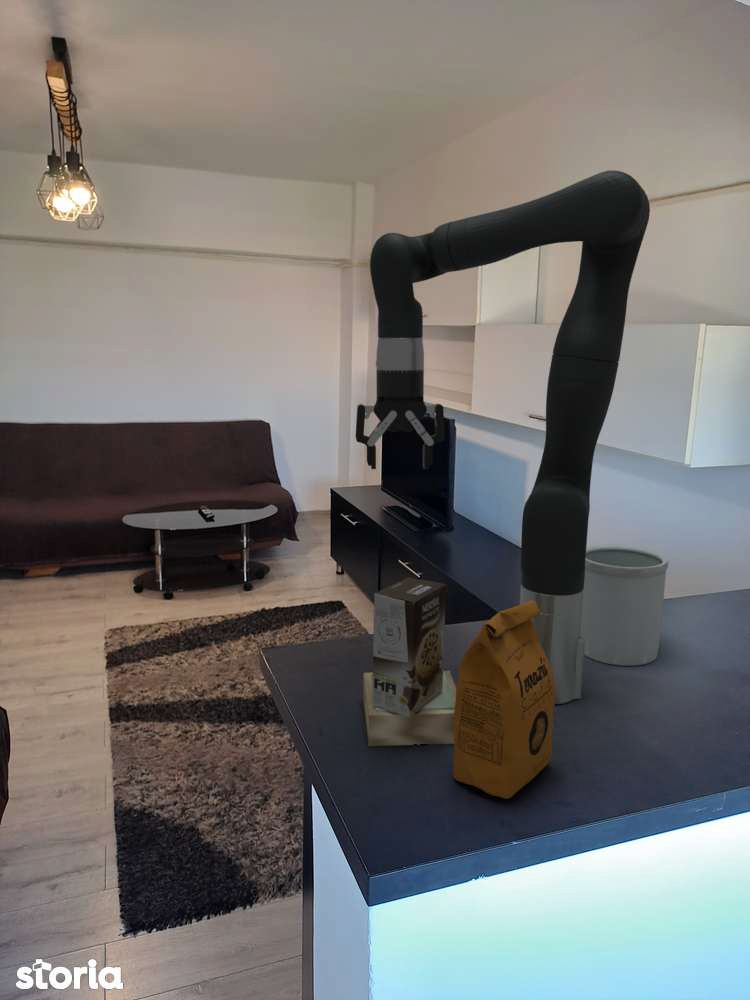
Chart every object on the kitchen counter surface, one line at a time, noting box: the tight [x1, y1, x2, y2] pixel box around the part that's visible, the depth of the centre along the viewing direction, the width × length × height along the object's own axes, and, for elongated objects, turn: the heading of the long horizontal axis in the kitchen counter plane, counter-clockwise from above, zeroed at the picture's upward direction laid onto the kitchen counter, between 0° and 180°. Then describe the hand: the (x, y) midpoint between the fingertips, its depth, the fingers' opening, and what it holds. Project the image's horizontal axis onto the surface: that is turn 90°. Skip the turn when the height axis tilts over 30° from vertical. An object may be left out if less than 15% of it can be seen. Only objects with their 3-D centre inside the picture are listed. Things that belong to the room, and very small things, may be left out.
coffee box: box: [372, 576, 447, 717], centre depth 102 cm, size 9×6×16 cm
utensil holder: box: [580, 544, 669, 667], centre depth 131 cm, size 15×15×18 cm
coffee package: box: [452, 601, 556, 800], centre depth 92 cm, size 10×12×22 cm
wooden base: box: [362, 670, 457, 747], centre depth 107 cm, size 13×13×5 cm
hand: (399, 468), depth 122 cm, fingers open, 8 cm apart
